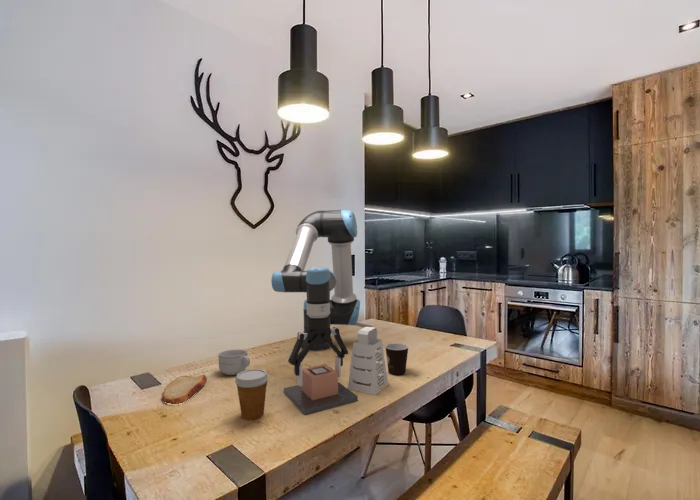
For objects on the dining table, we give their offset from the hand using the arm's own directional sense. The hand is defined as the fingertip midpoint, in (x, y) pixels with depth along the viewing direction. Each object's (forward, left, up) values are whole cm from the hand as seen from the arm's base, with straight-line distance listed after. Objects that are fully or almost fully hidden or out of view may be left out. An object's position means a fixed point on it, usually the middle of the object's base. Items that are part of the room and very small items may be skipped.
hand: (319, 380), depth 119 cm
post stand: (0, 0, -5) cm, 5 cm away
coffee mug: (-5, +35, -5) cm, 36 cm away
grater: (+1, +18, -5) cm, 19 cm away
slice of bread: (-28, -37, -6) cm, 46 cm away
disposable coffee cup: (+1, -22, -5) cm, 23 cm away
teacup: (-35, -19, -6) cm, 40 cm away
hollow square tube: (0, 0, -4) cm, 4 cm away
